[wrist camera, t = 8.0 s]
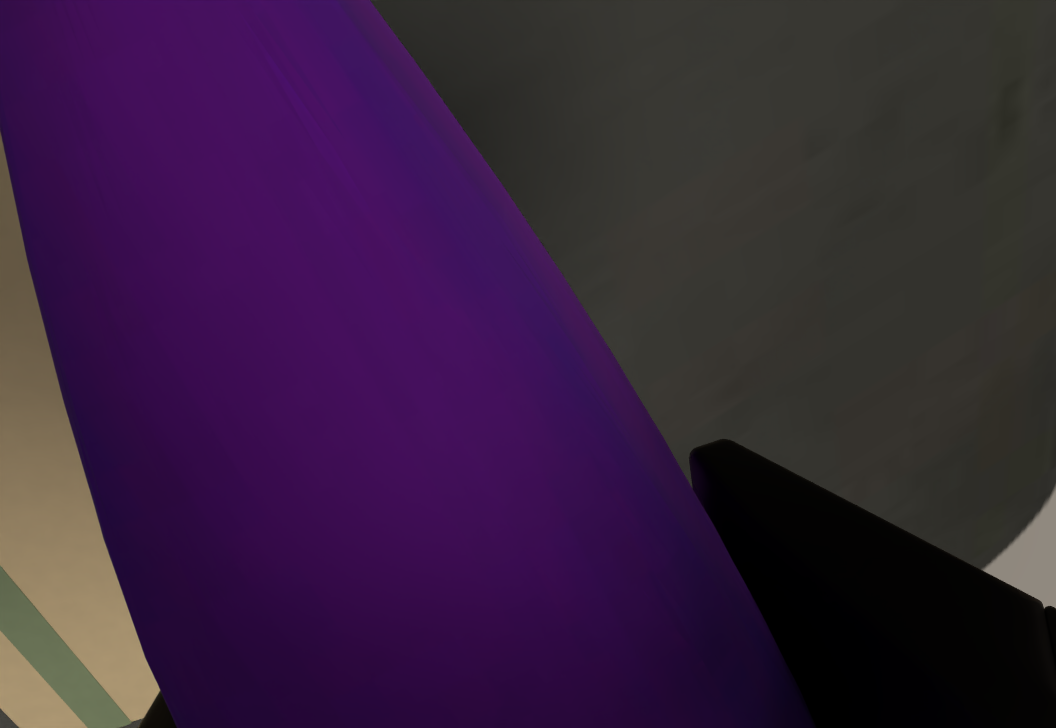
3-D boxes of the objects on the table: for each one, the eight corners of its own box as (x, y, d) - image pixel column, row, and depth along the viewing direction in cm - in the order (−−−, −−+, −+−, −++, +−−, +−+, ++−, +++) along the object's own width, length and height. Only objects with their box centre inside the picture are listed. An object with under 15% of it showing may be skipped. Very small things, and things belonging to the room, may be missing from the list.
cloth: (-734, -63, 11) (-759, -61, 11) (76, -257, 12) (71, -259, 12) (45, 742, 23) (42, 753, 22) (436, 609, 24) (438, 618, 23)
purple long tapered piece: (543, -946, 2) (954, 1147, 9) (401, -361, 6) (759, 772, 14) (-1272, -299, 2) (559, 1323, 9) (-191, -136, 6) (487, 888, 14)
